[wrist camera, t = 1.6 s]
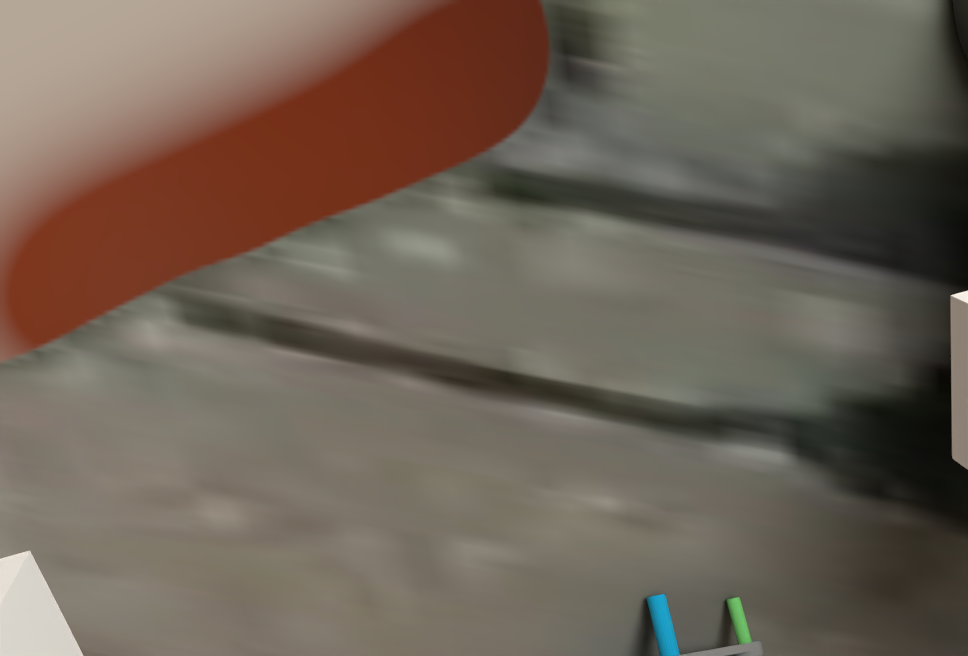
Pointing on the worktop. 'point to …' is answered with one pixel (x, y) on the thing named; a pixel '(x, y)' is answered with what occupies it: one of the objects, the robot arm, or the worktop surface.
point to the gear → (744, 652)
